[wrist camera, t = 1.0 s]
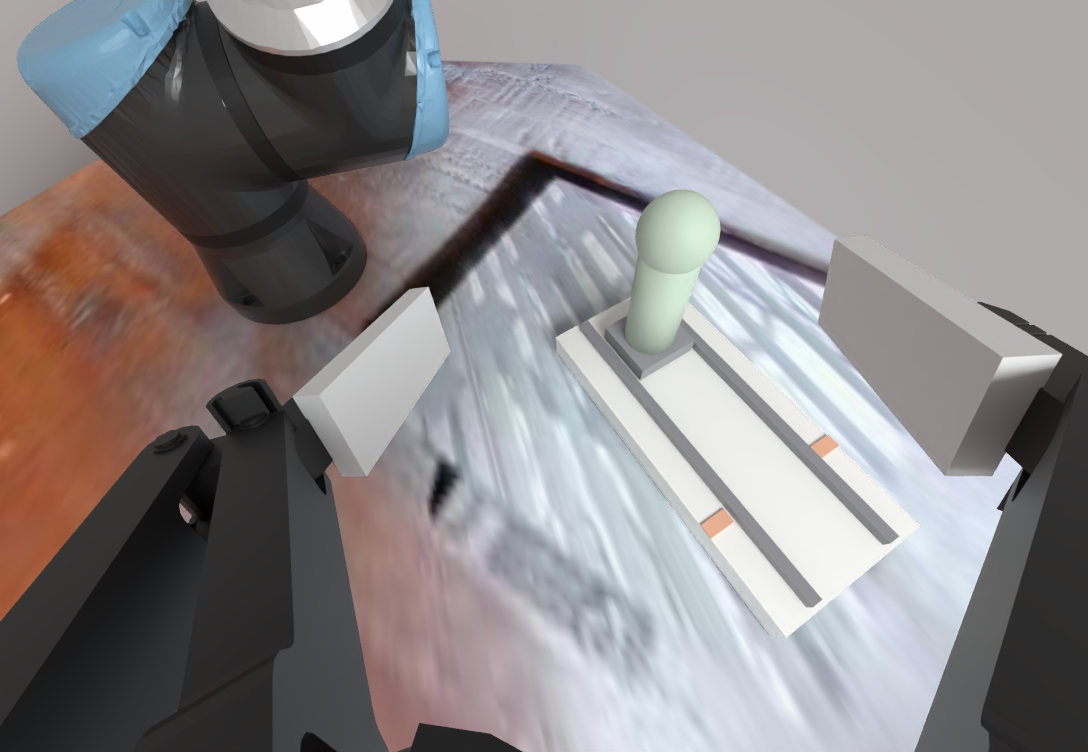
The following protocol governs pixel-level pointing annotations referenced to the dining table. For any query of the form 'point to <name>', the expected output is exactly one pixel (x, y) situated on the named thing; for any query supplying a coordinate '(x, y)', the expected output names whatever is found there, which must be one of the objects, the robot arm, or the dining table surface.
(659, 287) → the fader knob
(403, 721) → the dining table surface
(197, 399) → the dining table surface
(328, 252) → the robot arm
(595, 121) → the dining table surface
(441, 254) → the dining table surface
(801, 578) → the fader console
